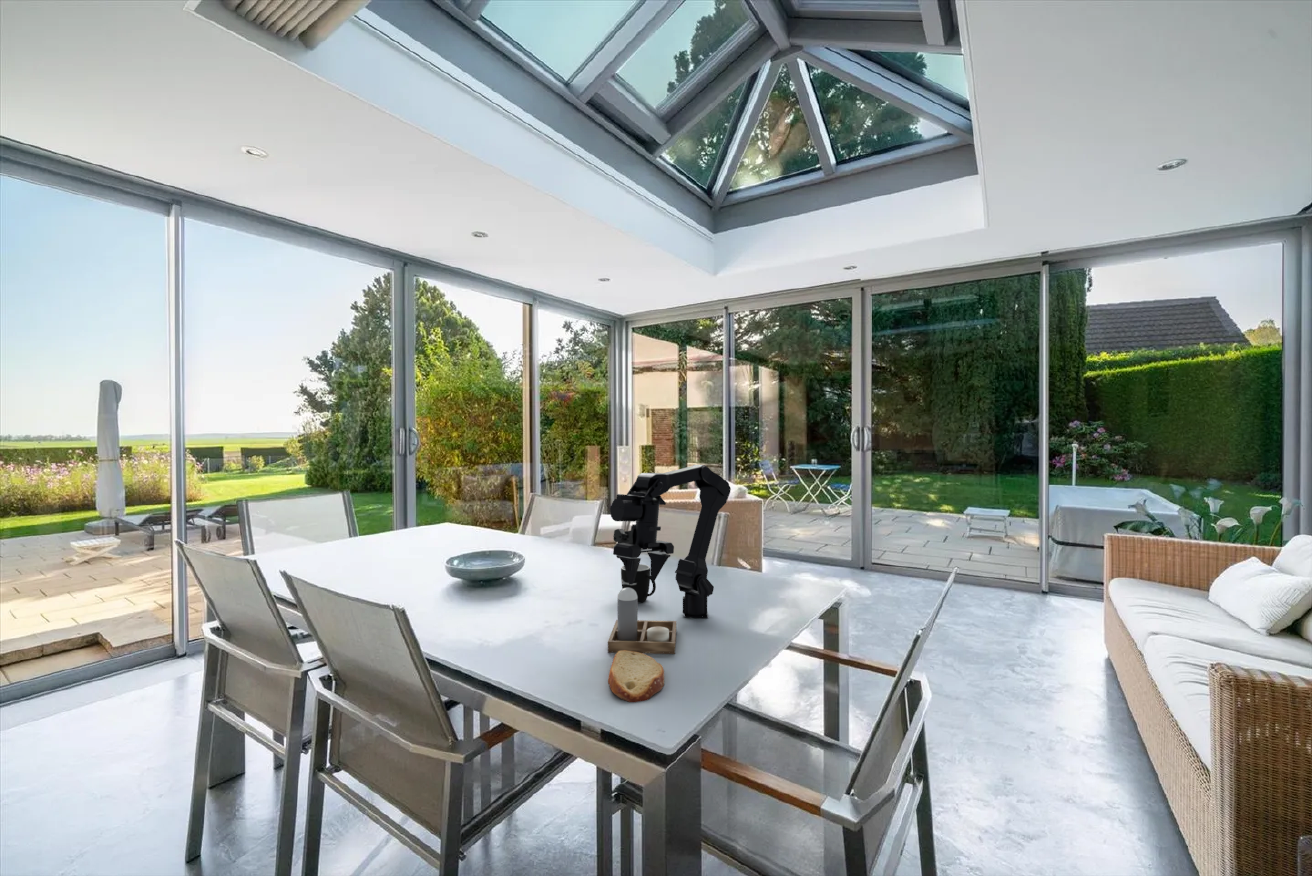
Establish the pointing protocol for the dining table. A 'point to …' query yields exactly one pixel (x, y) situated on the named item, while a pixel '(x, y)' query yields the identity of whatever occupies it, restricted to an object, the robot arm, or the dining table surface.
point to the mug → (639, 582)
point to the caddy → (647, 638)
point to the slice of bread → (635, 676)
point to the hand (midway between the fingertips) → (642, 582)
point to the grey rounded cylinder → (627, 615)
